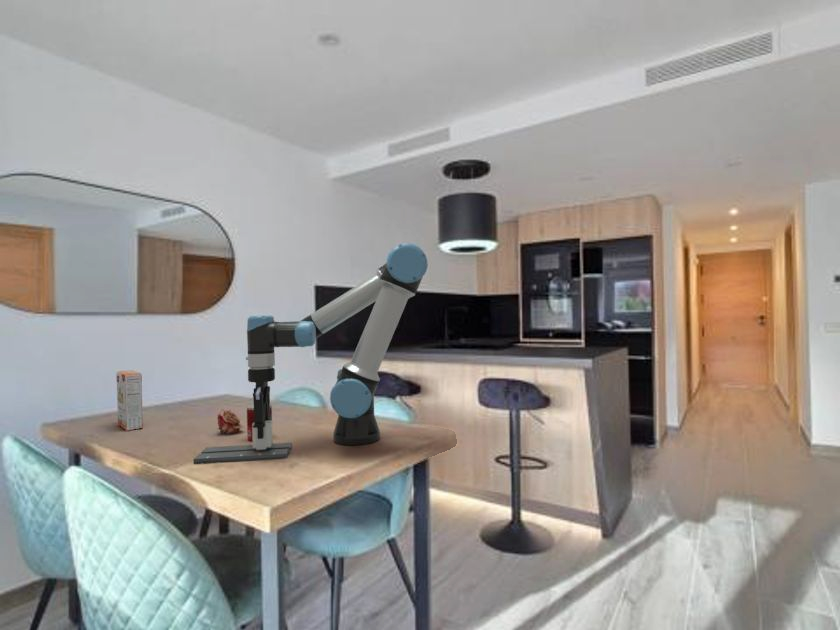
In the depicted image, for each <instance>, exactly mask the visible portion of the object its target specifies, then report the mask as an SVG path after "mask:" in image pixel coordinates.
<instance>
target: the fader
mask: <svg viewBox="0 0 840 630" xmlns="http://www.w3.org/2000/svg"><path fill="white" fill-rule="evenodd" d="M253 426H254V423H253V424H252V438H253V441H252V445H253V448H256V428H253ZM265 426H266V448H267V447H271V446H272V444H274V434H273V433H274V432H273V429H274V428H273V419H272V420H269V421H265ZM263 450H265V449H263Z"/></svg>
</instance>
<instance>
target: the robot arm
mask: <svg viewBox="0 0 840 630" xmlns="http://www.w3.org/2000/svg"><path fill="white" fill-rule="evenodd" d="M427 270H428V258H427V256H426V253H425V252H424V251H423V250H422V249H421V247H419V246H417V245H416V244H413V243H410V242H409V243H406V242H405V243H401V244H398V245H396V246H394V247H393V248H392V249H391V251H389V253H388V255H387V258H386V262H385V263H384V264H383V265H382V266H380V267H379V268H377V269H376V273H374V275H371V276H370V277H369V278H367V279H366V280H363V282H360V283H359V284H358V285H356V286H354V287H352V288H350V289H349V290H348V291H346V292H344V293H343V294H342V295H340V296H338V297H336V298H334V299H333V300H332V301H330V302H329V303H327V304H326V305H325V304H324V306H322V307H320V308H319V309H317V310H316V311H314V312H313V313H311V314H309V315H307V316H306V317H305V318H303V319H301V320H299V321H298V320H297V321H275V319H274V318H275V317H274V316H273V315H250V316H248V318H247V327H246V336H247V337H246V339H247V356H246V357H245V360H246V361H247V367H248V368H249V369H247V381H248V382H249V383H255V387H254V388H253V392H252V398H253V405H254V426H253V428H256V450H263V449H266V426H265V421H269V420H272V421H273V418H272V419H270V405H271V402H270V401H271V398H270V396H271V394H270V393H271V387H270V386H269V385H268V384H269V382H273V381H275V379H276V369H275V368H274V367H275V365H276V359H275V358H276V352H275V348H296V347H297V348H307V347H312V346H314V345H315V343H316V340H317V338H320V337H321V336H322V335H324V334H325V333H328V332H329V331H330V330H332V329H333V328H335V327H337V326H338V325H340V324H342V323H343V322H345V321H346V320H348V319H349V318H351V317H353V316H355V315H356V314H358V313H359V312H361V311H362V310H364V309H365V308H366V307H369V306H370V305H373V304H374V305H373V306H372V310H371V312H370V315H369V317H368V319H367V322H366V324H365V327H364V329H363V331H362V334H361V336H360V338H359V341H358V343H357V346H356V348H355V351H354V353H353V356H352V358H351V360H350V361H349V362H347V363H345V364H343V366H342V368H340V369H339V370H338V371H337V376H336V379H337V380H336V382H335V384H334V386H333V387H332V389H331V391H330V394H329V395H330V397H329V398H330V405H331V407H332V409H333V410H334V412H335V413H336V414H337V420H336V424H335V428H334V430H333V434H332V436H333V437H332V441H333V442H334V443H336V444H338V445H343V446H344V445H346V446H360V445H367V444H371V443H375V442H378V441H379V440H380V439H381V432H380V431H381V430H380V428H379V425H378V422H377V419H376V416H375V392H376V390H377V389H378V388H377V387H378V386H379V383H380V380H381V377H379V374H378V371H379V370H380V367H381V365H382V362H383V360H384V357H385V355H386V353H387V350H388V348H389V346H390V343H391V341H392V339H393V335H394V334H395V331H396V329H397V327H398V324H399V322H400V319H401V317H402V314H403V312H404V311H405V308H406V305H407V303H408V300H409V299H410V298H412V297H415V296H416V294H417V292H418V289H419V287H420V285H421V283H422V282H421V281H422V280H423V277H424V276H425V274H426V272H427Z"/></svg>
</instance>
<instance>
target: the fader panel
mask: <svg viewBox="0 0 840 630" xmlns="http://www.w3.org/2000/svg"><path fill="white" fill-rule="evenodd" d="M292 448H293V442H278V443H277V442H276V443H273V444H272V446H271V447H267V448H266V449H265V450H256V448H253V444H243V445H226V446H224V445H222V446H208V447H205V448H204V449H203V450H202V451H201V452H200V453H199V454H198V455H196V456H195V457H194V458H193V465H199V464H200V465H201V463H203V464H215V463H216V464H217V462H220V463H231V462H232V463H233V462H234V463H235V462H236V463H237V462H248V461H249V462H252V461H265V460H266V461H267V460H280V459H281V460H283V459H284V460H285V458H286V459H287V458H288V456H289V454H290V452H291V450H292Z"/></svg>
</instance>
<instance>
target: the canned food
mask: <svg viewBox="0 0 840 630" xmlns="http://www.w3.org/2000/svg"><path fill="white" fill-rule="evenodd" d="M272 414H273V408H272V404H270V419H272V420H273V415H272ZM253 423H254V404H249V405H247V406H246V424H247V425H246V426H247V427H246V430H247V436H246V437H247V439H248V441H249V442H253V438H252V424H253Z"/></svg>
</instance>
